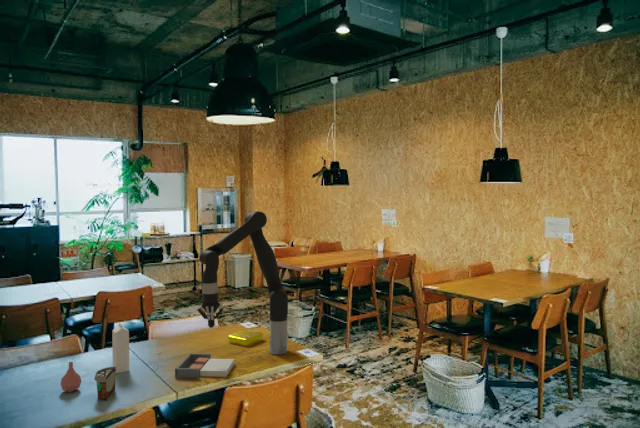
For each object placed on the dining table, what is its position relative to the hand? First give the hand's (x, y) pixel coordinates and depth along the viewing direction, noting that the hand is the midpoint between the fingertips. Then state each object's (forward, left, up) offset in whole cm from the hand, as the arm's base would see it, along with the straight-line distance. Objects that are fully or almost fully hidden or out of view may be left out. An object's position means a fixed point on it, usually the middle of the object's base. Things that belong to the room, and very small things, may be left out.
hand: (211, 327), depth 229 cm
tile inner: (+4, +2, -18) cm, 18 cm away
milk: (+40, +10, -18) cm, 45 cm away
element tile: (-9, -38, -19) cm, 43 cm away
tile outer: (+4, +11, -18) cm, 21 cm away
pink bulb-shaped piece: (+50, +34, -18) cm, 63 cm away
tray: (+6, +7, -18) cm, 21 cm away
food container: (+34, +38, -18) cm, 54 cm away
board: (-5, +7, -18) cm, 20 cm away
